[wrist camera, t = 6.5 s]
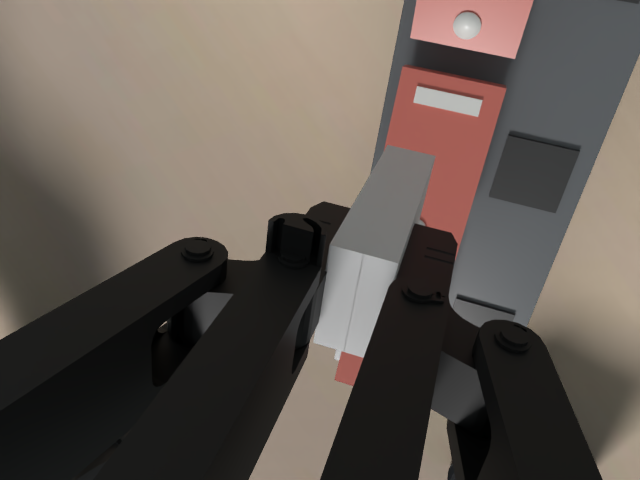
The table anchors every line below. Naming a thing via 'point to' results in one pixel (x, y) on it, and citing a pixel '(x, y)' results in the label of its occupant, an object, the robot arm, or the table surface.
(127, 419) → the robot arm
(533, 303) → the power strip
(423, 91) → the rocker
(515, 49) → the rocker
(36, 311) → the table surface
